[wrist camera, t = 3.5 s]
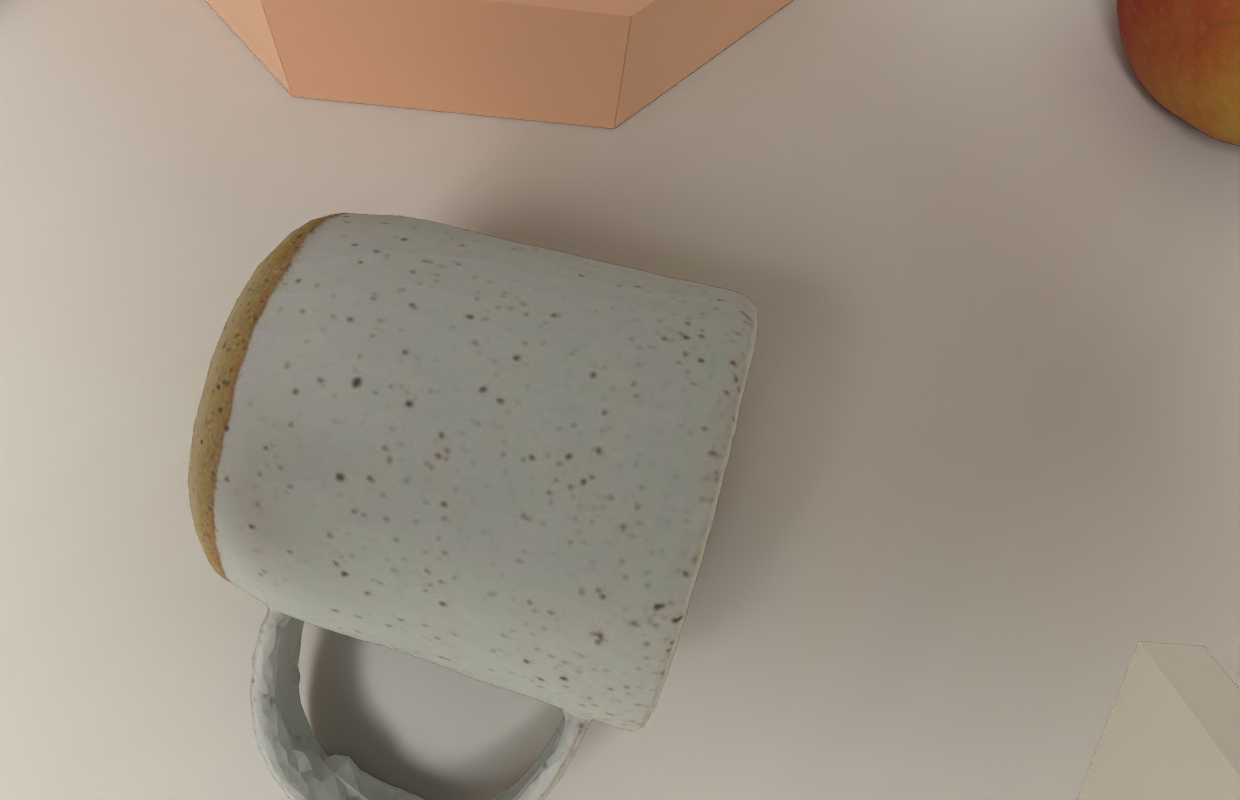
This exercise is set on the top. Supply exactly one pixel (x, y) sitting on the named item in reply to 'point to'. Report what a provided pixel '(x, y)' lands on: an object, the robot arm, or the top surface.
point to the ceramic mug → (465, 470)
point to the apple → (1188, 59)
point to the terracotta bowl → (492, 51)
